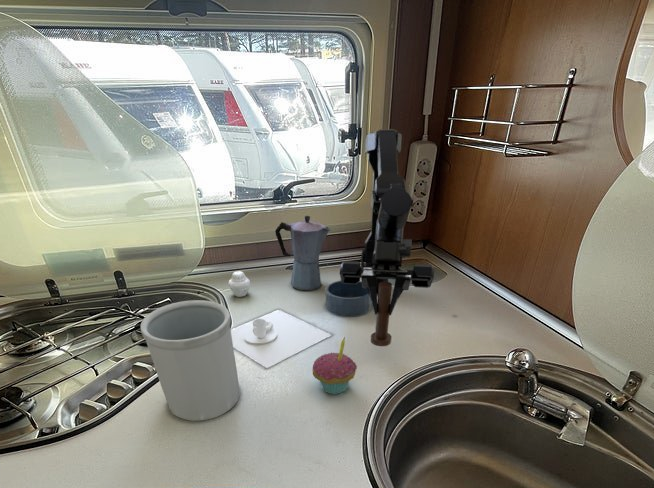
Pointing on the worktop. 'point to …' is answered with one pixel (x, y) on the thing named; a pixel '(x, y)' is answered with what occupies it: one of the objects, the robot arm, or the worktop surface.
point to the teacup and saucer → (275, 337)
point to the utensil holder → (193, 357)
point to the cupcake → (334, 370)
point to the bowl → (347, 299)
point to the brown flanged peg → (382, 316)
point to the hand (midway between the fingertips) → (382, 314)
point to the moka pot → (304, 251)
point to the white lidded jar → (239, 284)
